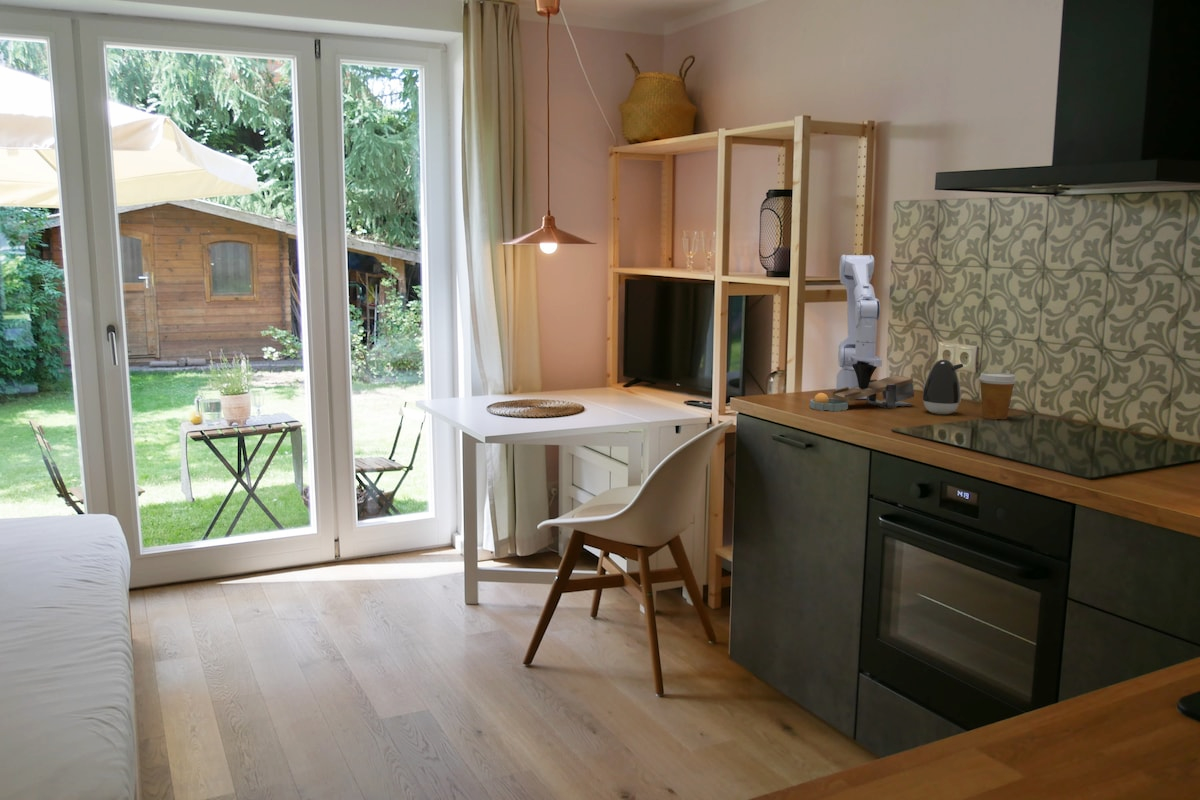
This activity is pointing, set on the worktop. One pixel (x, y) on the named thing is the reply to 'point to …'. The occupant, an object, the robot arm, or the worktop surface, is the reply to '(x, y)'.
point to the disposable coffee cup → (996, 394)
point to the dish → (830, 405)
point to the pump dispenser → (942, 388)
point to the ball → (821, 398)
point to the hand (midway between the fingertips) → (863, 388)
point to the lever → (878, 389)
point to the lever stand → (887, 397)
